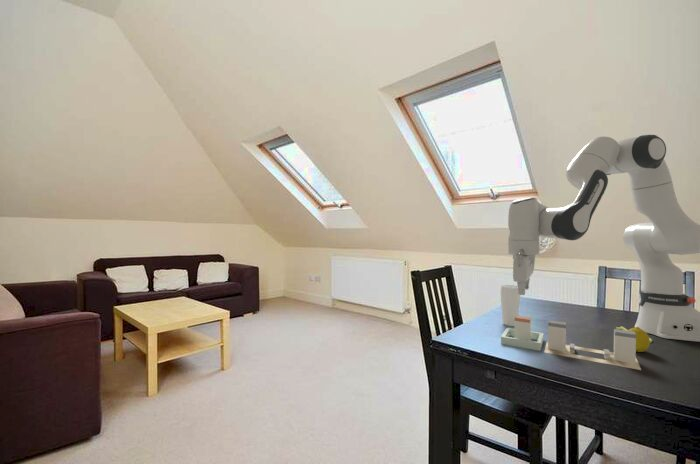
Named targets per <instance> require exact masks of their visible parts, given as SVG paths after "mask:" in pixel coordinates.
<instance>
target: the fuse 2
mask: <svg viewBox="0 0 700 464" xmlns="http://www.w3.org/2000/svg"><path fill="white" fill-rule="evenodd" d="M613 352H614V356H613V357H614V360H615V361H621V362H627V363H633V364H635V362H636V359H637V356H636V355H637V353H636V334H635V332H633V331H625V330H618V329H616V328H613Z"/></svg>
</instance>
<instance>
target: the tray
mask: <svg viewBox="0 0 700 464" xmlns="http://www.w3.org/2000/svg"><path fill="white" fill-rule="evenodd" d="M544 336H545V334H544V332H537V331H532V330H531V341H530V340H524V339H518V338H514V327H513V328H512V327H506V328H505V330H504V332H503V333H502V334H501V337H500V344H501V345H506V346H514V347H518V348H523V349H528V350H535V351H541V350H542V347H543V344H544V338H545V337H544Z"/></svg>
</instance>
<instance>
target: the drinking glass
mask: <svg viewBox="0 0 700 464" xmlns="http://www.w3.org/2000/svg"><path fill="white" fill-rule="evenodd" d="M500 304H501V305H500V306H501V307H500V308H501V317H502V319H501V321H502V322H501V323H502V324H503V325H505V326H508V327H509V326H510V327H514V319H515V316H520V315H519V313H520V305H521V295H519V293H518V285H512V284H503V285H500Z"/></svg>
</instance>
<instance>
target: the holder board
mask: <svg viewBox="0 0 700 464" xmlns="http://www.w3.org/2000/svg"><path fill="white" fill-rule="evenodd" d="M575 350H576V351H583V352H589V353H594V354H601V355H604V350H601V349H595V348H589V347H583V346H577V345H575ZM609 352H610V360H605V359H602V358H596V357H591V356H586V355H579V354H576V353H575V354H572V353H570V344H566V352H564V351H558V350H553V349H548V341H546V343H545V348H544V351H543V353H545V354H551V355H556V356H560V357H561V356H562V357H568V358H572V359H578V360H583V361H588V362H594V363H599V364H605V365H610V366H617V367H622V368H628V369H634V370H638V371H642V368H641V365H640V363H639V361H638V359H637V358H636V362H635V364H633V363H627V362H621V361H615V360H614V357H613V356H614V351H609Z"/></svg>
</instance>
